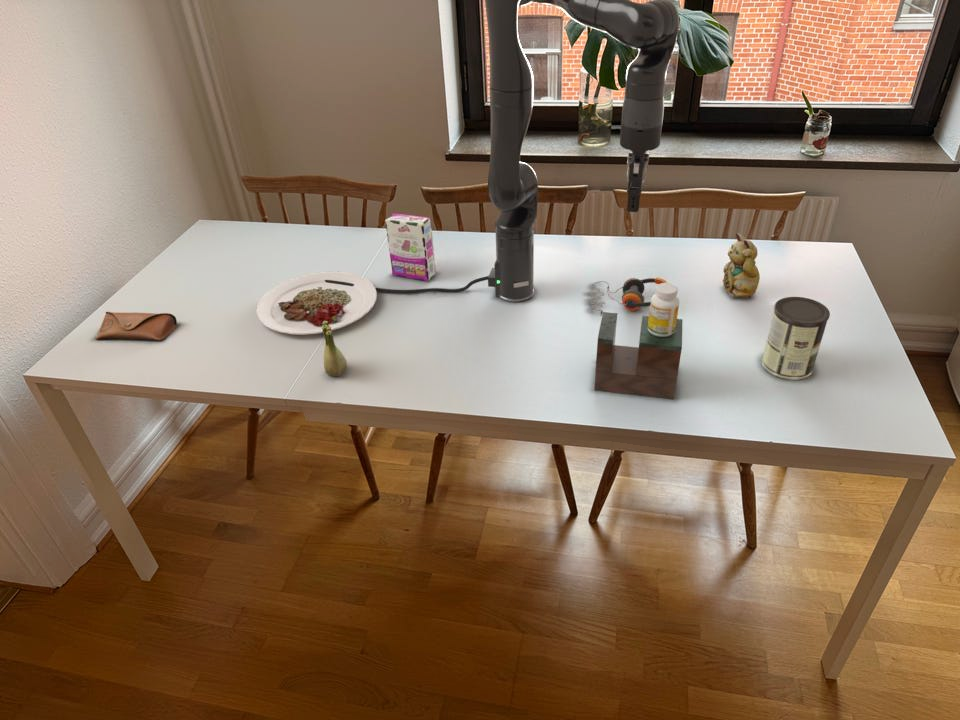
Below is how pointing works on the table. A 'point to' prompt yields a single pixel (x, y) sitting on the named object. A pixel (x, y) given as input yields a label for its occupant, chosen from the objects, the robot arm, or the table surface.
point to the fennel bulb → (332, 354)
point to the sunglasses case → (136, 326)
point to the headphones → (629, 293)
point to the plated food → (316, 303)
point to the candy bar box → (411, 246)
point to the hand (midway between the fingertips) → (634, 202)
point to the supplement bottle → (663, 310)
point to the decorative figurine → (741, 269)
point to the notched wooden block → (637, 361)
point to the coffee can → (794, 337)
